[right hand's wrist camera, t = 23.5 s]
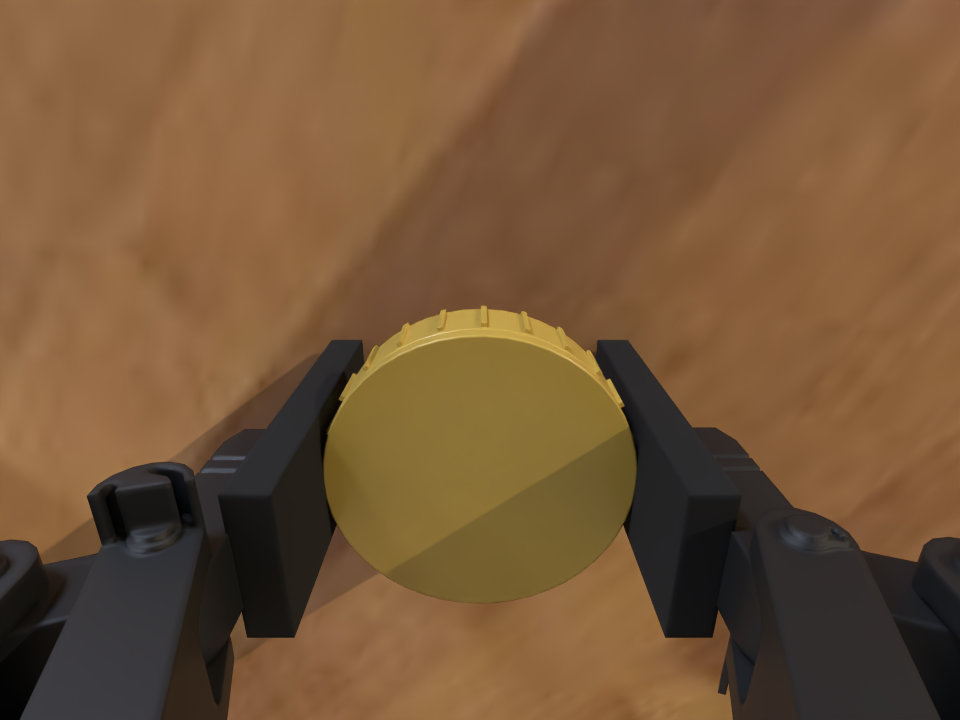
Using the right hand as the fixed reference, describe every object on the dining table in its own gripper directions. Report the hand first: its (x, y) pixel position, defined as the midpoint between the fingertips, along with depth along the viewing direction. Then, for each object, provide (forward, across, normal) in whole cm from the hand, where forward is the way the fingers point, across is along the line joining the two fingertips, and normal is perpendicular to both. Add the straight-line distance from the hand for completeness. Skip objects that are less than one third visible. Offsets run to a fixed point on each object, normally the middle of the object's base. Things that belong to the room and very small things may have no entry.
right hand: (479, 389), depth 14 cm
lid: (-4, 0, 0) cm, 4 cm away
